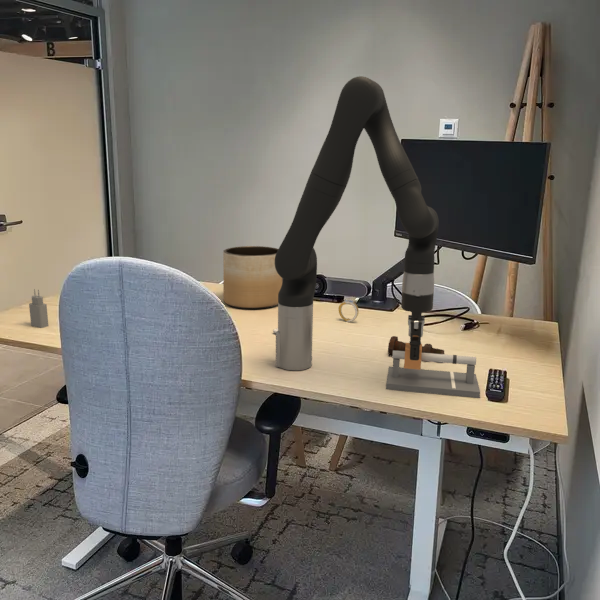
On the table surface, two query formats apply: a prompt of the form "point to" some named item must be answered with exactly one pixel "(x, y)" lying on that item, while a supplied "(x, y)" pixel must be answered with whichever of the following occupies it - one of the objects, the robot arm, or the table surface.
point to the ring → (350, 301)
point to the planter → (250, 277)
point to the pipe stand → (434, 376)
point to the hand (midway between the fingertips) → (414, 354)
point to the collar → (412, 363)
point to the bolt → (400, 346)
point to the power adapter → (38, 312)
